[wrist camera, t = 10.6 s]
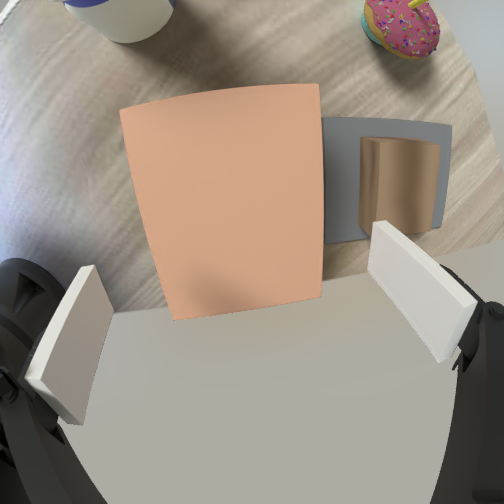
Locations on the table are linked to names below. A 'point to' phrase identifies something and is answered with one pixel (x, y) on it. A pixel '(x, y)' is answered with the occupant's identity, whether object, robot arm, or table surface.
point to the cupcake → (402, 26)
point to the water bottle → (122, 17)
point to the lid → (231, 195)
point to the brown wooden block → (397, 183)
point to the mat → (348, 168)
